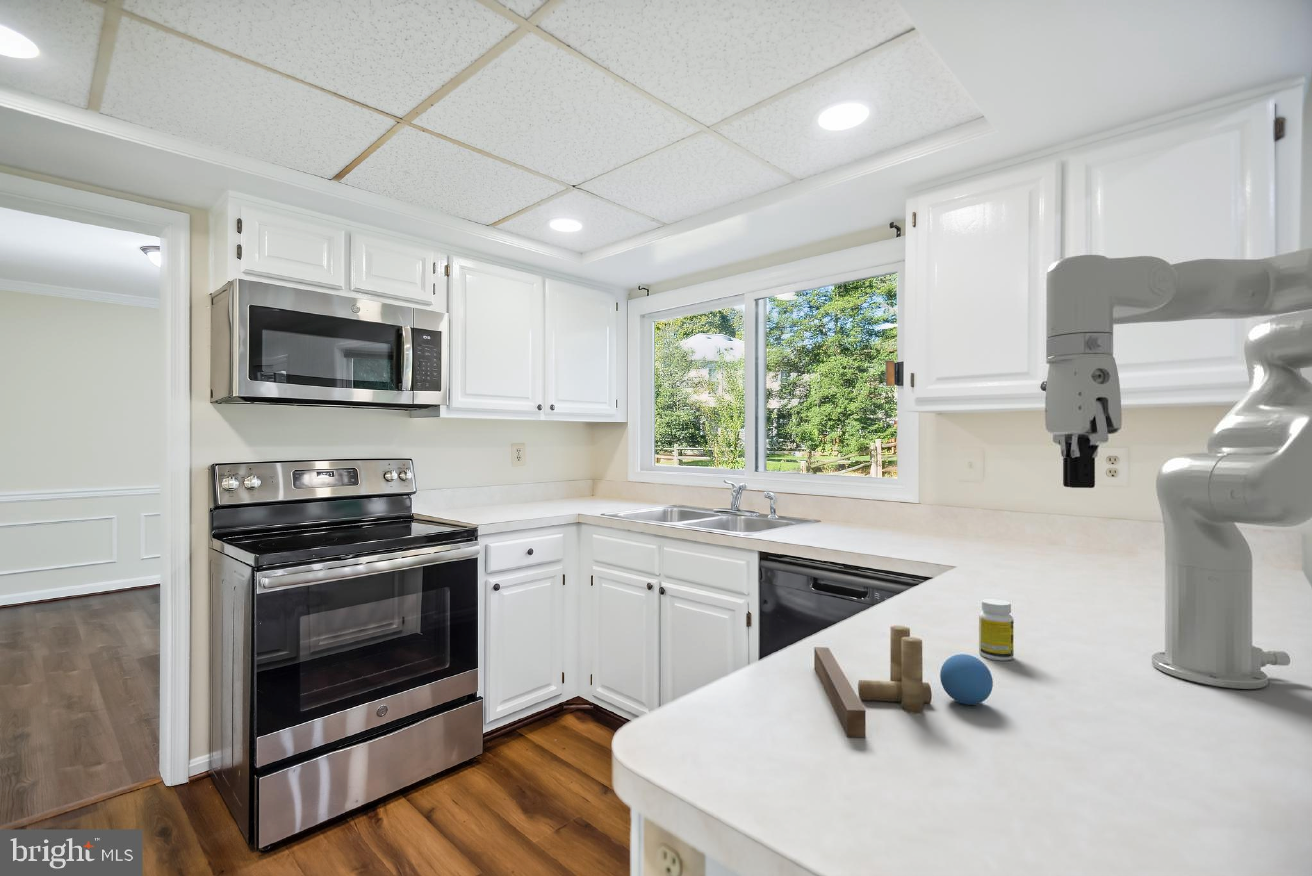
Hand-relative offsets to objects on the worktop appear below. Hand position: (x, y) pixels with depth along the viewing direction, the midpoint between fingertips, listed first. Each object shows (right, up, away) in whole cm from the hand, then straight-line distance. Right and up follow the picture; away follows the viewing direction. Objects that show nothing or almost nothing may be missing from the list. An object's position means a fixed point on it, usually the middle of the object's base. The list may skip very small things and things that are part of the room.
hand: (1078, 487), depth 86 cm
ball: (-17, -24, -5) cm, 30 cm away
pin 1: (-25, -27, -2) cm, 37 cm away
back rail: (-34, -27, -3) cm, 43 cm away
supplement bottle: (-4, -27, +13) cm, 31 cm away
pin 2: (-25, -27, -7) cm, 37 cm away
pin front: (-22, -26, -4) cm, 34 cm away
